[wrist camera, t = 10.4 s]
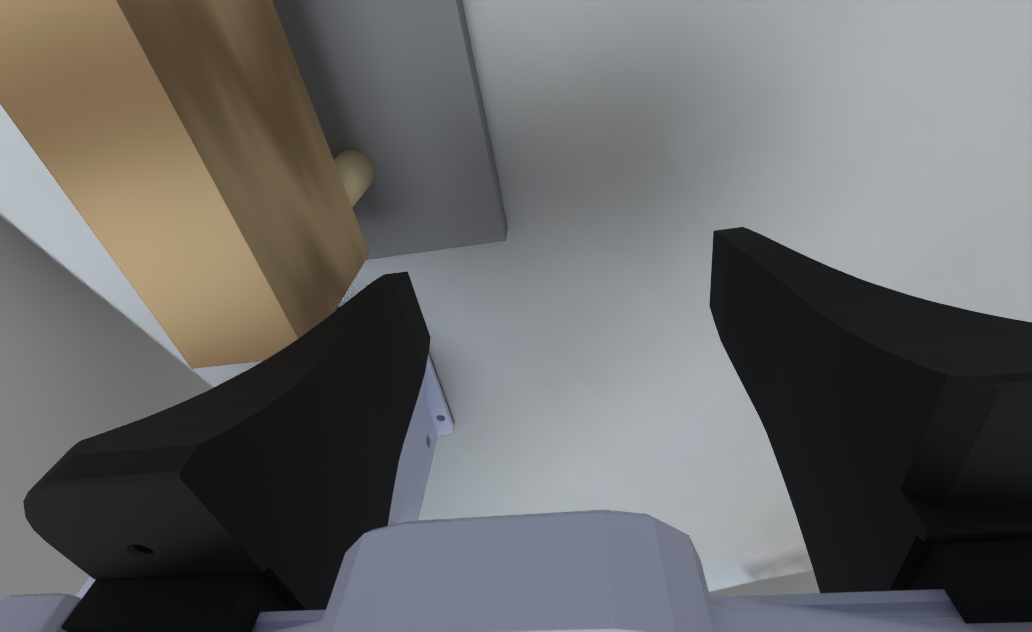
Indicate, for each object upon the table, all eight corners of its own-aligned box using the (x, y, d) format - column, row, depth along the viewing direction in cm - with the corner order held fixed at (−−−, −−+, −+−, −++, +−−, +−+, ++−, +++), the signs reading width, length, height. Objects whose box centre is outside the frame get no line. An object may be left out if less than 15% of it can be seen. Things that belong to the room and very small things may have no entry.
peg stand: (507, 228, 22) (500, 275, 19) (245, 265, 24) (196, 314, 21) (373, -433, 12) (307, -586, 9) (-59, -284, 14) (-252, -363, 11)
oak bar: (369, 253, 19) (307, 355, 14) (281, 265, 19) (191, 368, 14) (150, -313, 11) (-175, -539, 6) (12, -266, 11) (-393, -440, 6)
